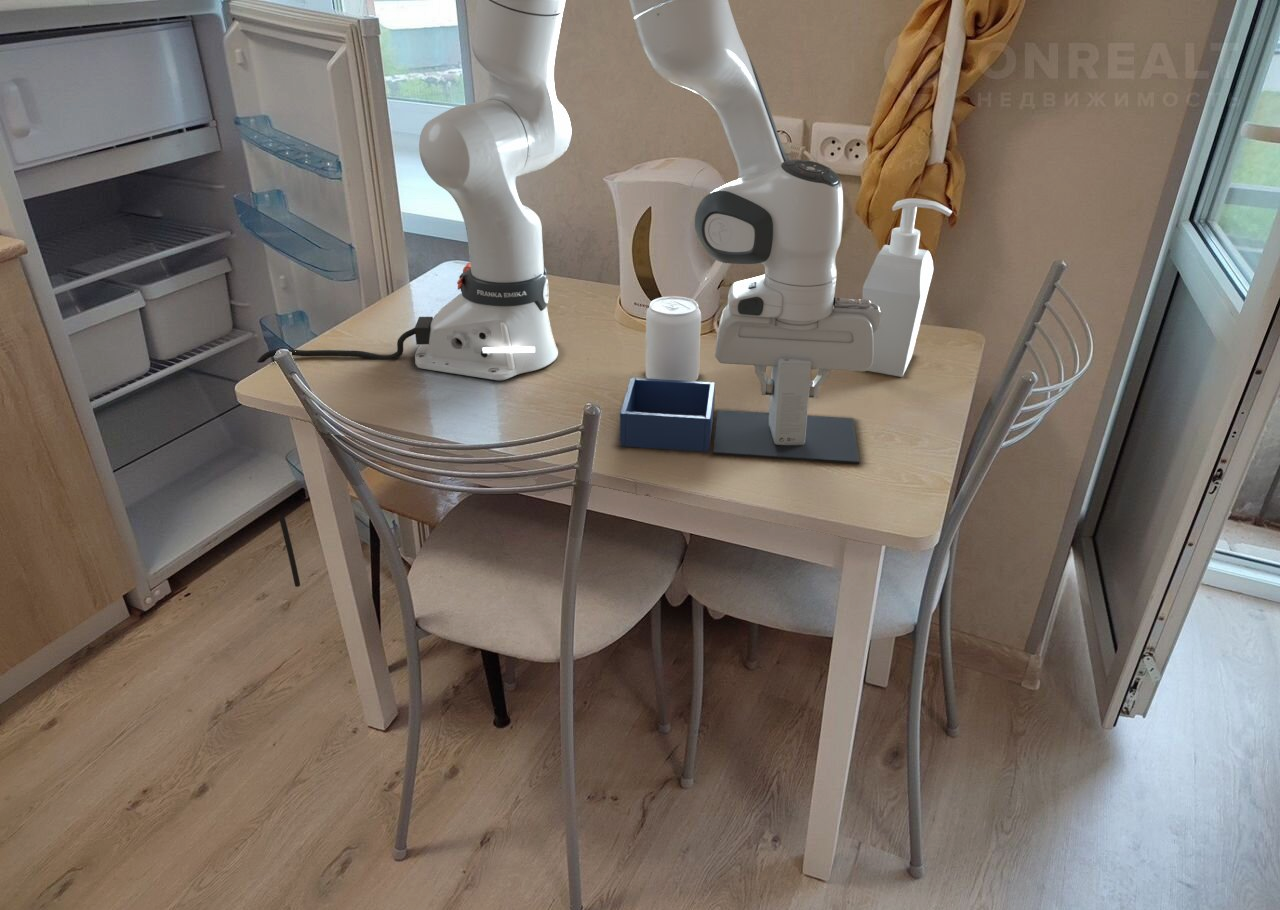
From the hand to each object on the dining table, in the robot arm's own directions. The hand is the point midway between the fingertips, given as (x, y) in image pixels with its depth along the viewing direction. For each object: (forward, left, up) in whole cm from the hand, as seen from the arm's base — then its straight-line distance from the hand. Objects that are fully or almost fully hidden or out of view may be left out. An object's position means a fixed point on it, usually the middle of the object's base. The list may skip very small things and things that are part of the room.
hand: (788, 394), depth 125 cm
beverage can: (-17, +16, -7) cm, 24 cm away
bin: (-16, 0, -6) cm, 17 cm away
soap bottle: (+17, +26, -7) cm, 32 cm away
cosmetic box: (0, 0, -6) cm, 6 cm away
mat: (0, 0, -6) cm, 6 cm away
